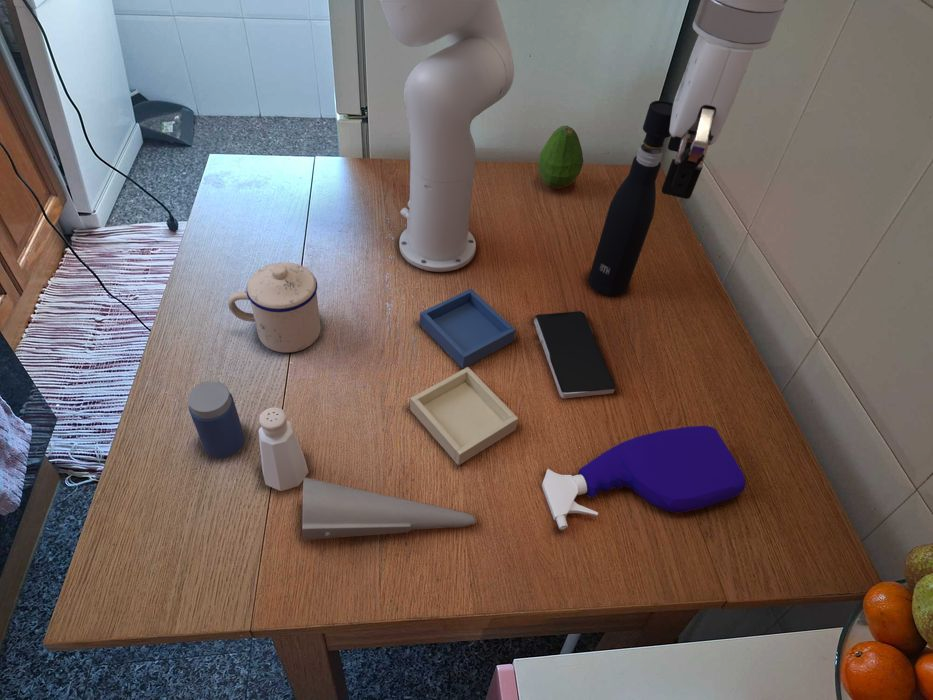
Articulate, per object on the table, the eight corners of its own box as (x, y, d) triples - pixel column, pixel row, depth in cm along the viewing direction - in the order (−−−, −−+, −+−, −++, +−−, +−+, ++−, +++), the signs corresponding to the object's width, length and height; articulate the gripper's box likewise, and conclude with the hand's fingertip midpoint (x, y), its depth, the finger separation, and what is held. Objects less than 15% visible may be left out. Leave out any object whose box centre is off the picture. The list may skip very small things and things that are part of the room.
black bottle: (626, 272, 106) (686, 98, 84) (629, 299, 102) (693, 122, 80) (587, 268, 106) (637, 92, 84) (588, 294, 102) (642, 116, 80)
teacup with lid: (324, 309, 95) (317, 246, 87) (320, 355, 89) (312, 293, 80) (241, 308, 94) (225, 245, 85) (230, 355, 88) (212, 292, 79)
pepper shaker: (197, 437, 79) (178, 391, 72) (234, 419, 81) (220, 373, 74) (213, 465, 76) (196, 420, 70) (251, 445, 79) (238, 400, 72)
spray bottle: (710, 416, 84) (532, 452, 78) (757, 489, 77) (565, 534, 71) (703, 429, 86) (529, 465, 80) (747, 501, 79) (560, 546, 73)
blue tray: (419, 324, 95) (419, 312, 93) (469, 300, 99) (471, 288, 97) (462, 369, 90) (464, 357, 88) (513, 341, 94) (516, 329, 92)
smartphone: (561, 394, 87) (533, 314, 96) (559, 399, 87) (531, 320, 97) (617, 388, 88) (584, 310, 98) (615, 393, 89) (582, 316, 99)
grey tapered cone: (474, 463, 75) (303, 468, 70) (481, 517, 71) (302, 525, 66) (464, 484, 79) (303, 489, 75) (471, 535, 75) (302, 544, 71)
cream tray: (409, 409, 84) (410, 397, 82) (466, 378, 88) (467, 366, 87) (458, 465, 79) (459, 454, 77) (515, 429, 83) (518, 418, 81)
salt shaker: (304, 493, 75) (293, 439, 67) (257, 490, 75) (240, 436, 66) (312, 453, 78) (302, 397, 70) (267, 451, 78) (252, 394, 70)
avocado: (533, 193, 120) (543, 134, 111) (536, 171, 125) (547, 112, 116) (575, 200, 119) (590, 141, 110) (577, 177, 125) (591, 119, 116)
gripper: (700, -19, 68) (652, 130, 81) (693, 44, 57) (638, 205, 70) (772, -5, 67) (712, 143, 80) (780, 62, 56) (707, 222, 69)
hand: (677, 172), depth 75 cm, fingers open, 9 cm apart
